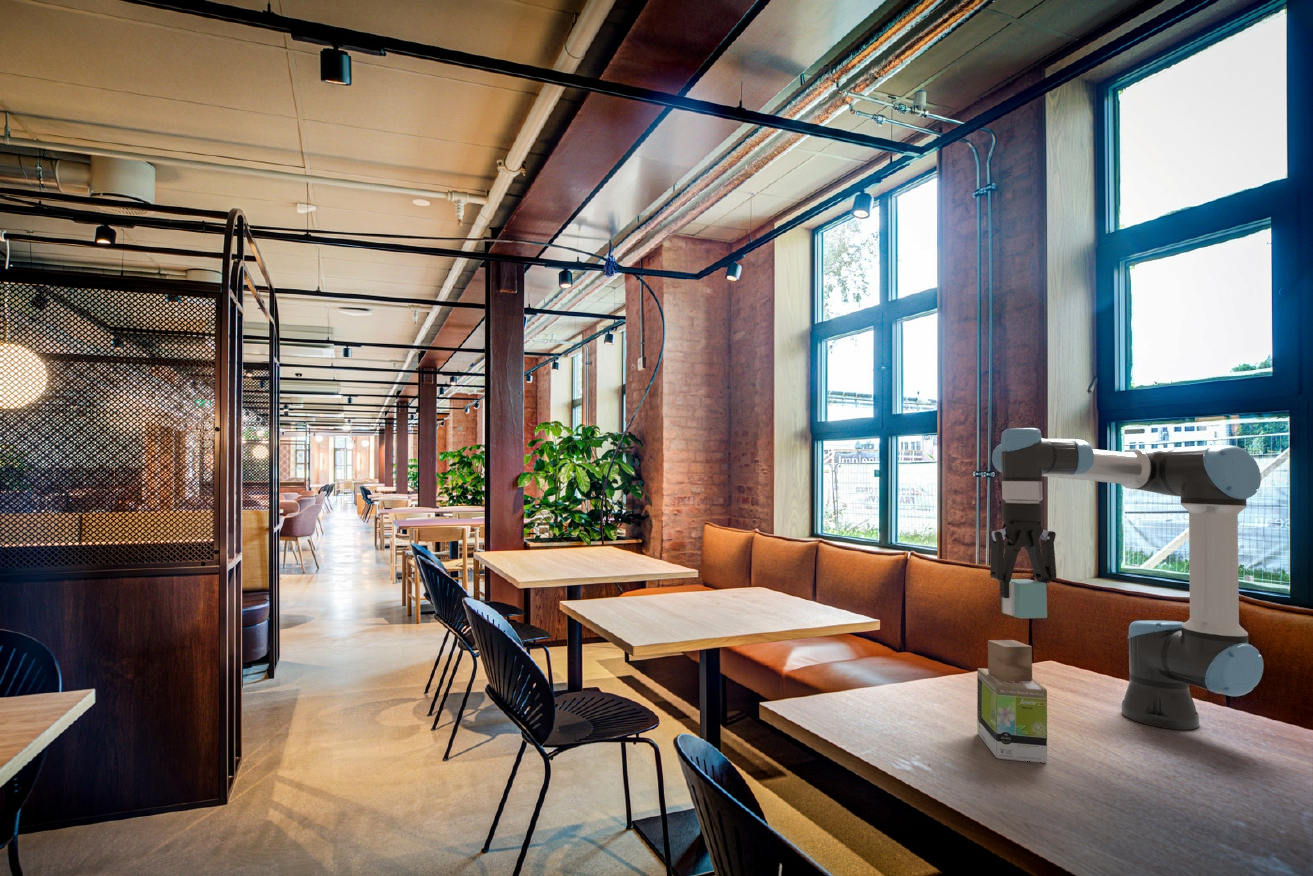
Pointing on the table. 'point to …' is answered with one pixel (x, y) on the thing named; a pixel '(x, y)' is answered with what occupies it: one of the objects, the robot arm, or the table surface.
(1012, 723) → the tea box
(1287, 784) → the table surface
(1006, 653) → the walnut block
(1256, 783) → the table surface
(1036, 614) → the teal block
